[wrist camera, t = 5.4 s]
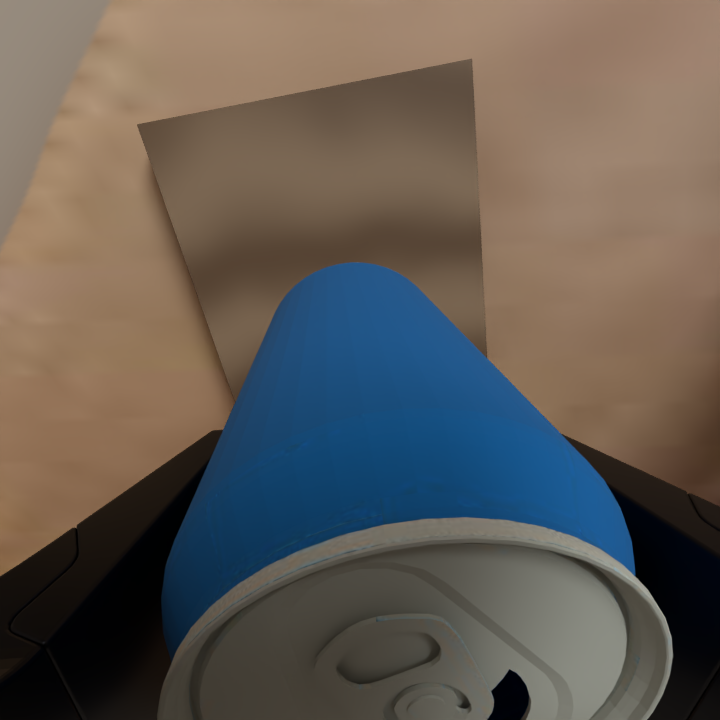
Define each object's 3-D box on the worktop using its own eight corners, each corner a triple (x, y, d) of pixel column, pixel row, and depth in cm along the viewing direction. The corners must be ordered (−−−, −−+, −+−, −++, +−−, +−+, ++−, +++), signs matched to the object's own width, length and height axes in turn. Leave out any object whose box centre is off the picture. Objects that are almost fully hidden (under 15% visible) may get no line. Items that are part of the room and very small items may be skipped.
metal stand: (474, 352, 23) (487, 365, 21) (246, 396, 23) (239, 413, 21) (457, 73, 18) (471, 58, 16) (157, 132, 18) (137, 124, 16)
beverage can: (318, 435, 17) (303, 888, 6) (238, 305, 14) (-56, 674, 3) (456, 374, 16) (730, 757, 5) (397, 227, 14) (686, 364, 3)
